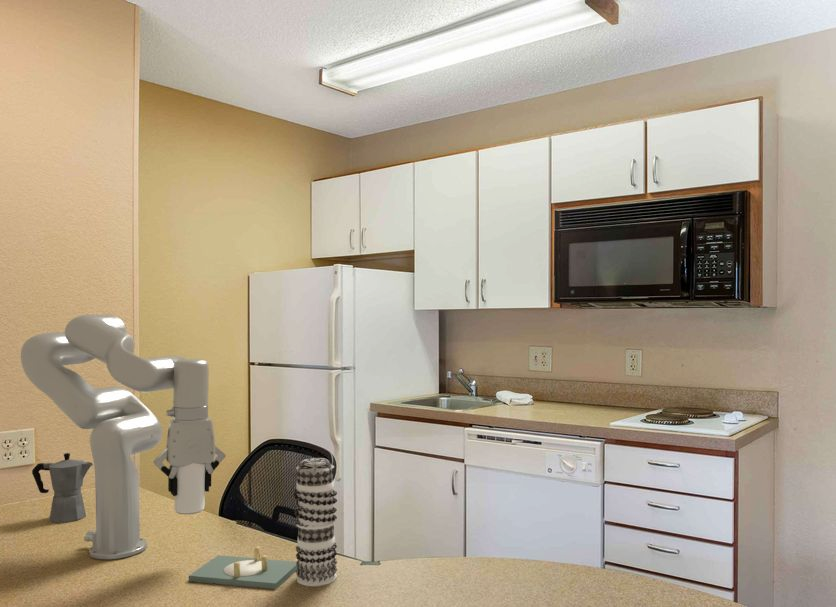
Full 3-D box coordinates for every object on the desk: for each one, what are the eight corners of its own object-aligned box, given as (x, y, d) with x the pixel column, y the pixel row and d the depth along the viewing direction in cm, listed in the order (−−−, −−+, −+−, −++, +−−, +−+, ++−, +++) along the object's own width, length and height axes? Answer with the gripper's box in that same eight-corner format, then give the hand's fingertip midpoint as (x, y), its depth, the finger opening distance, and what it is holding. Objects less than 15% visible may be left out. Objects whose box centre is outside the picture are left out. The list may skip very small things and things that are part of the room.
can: (195, 515, 154) (196, 462, 153) (168, 513, 155) (169, 460, 155) (209, 507, 160) (210, 455, 160) (184, 505, 161) (184, 453, 161)
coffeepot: (97, 511, 198) (96, 448, 198) (89, 521, 189) (88, 455, 189) (38, 515, 194) (37, 451, 194) (27, 526, 185) (26, 458, 185)
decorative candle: (286, 584, 144) (284, 463, 144) (308, 567, 153) (306, 454, 153) (325, 589, 141) (323, 466, 141) (345, 572, 150) (343, 456, 150)
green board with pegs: (188, 581, 146) (188, 561, 146) (218, 560, 158) (218, 542, 158) (275, 589, 141) (275, 568, 141) (299, 567, 153) (299, 548, 153)
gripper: (153, 419, 149) (152, 502, 150) (233, 413, 158) (232, 491, 159) (147, 414, 156) (146, 493, 156) (224, 408, 165) (223, 483, 165)
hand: (189, 491), depth 157 cm, fingers closed on can, 6 cm apart
